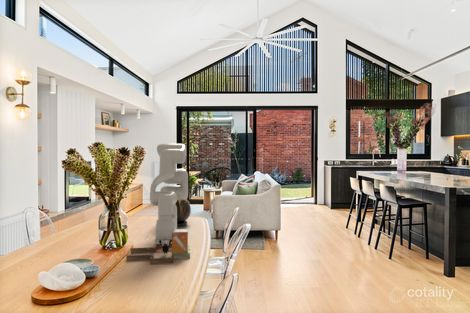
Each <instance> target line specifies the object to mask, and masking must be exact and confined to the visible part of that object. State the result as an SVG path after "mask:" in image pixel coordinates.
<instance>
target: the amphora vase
mask: <svg viewBox="0 0 470 313" xmlns="http://www.w3.org/2000/svg"><path fill="white" fill-rule="evenodd" d="M175 204H176V206H177V228H178V227H185V226H186V225H188V221H187V220H188V219H189V218H190V217H191V213H192V208H191V203H190V201H189V200H188V198H187V199H186V200H177V202H176V203H175ZM184 225H185V226H184Z"/></svg>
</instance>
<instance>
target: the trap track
mask: <svg viewBox="0 0 470 313" xmlns="http://www.w3.org/2000/svg"><path fill="white" fill-rule="evenodd" d="M166 244H167V242H165V245H166ZM170 252H171V257H154V253H164V252H163V246H162V245H161V244H160V243H155V244H154V246H152V247H151V246H149V247H147V246H146V247H130V254H129V255H128V254H127V255H126V257H125V258H126V259H125V261H126V262H130V261H131V262H133V261H149V265H161V264H163V265H164V264H165V265H166V264H174V260H179V259H180V260H181V259H191V246H190V245H188V253H172V242H171V243H170V244H169V251H168V252H167V253H170ZM147 253H148V254H147Z"/></svg>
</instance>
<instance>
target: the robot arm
mask: <svg viewBox="0 0 470 313" xmlns="http://www.w3.org/2000/svg"><path fill="white" fill-rule="evenodd" d="M156 153H157V155H158V157H159V173H158V175H157V176H155V178H154V179H153V181H152V183H151V184H150V187H149V188H150V191H149V203H150V204H151V205H152V206H157V219H156V223H155V232H154V236H155V239H154V242H155V243H158V244H161V245H162V246H163V252H162V253H163V254H164V255H167V254H168V253H169V252H168V251H169V244H170V243H172V231H175V230H176V229H178V227H177V206H176V204H175V203H176V202H177V200H186V199H187V200H188V198H189V173H188V171H187V170H186V169H184V168H177V164H180V165H181V164H185V162H186V160H187V147H186V145H185V144H183V143H159V144H158V145H157V146H156ZM162 183H164V184H167V185H163V186H162V187H161V188H160V191H157V190H156V189H157V187H158V186H159V185H160V184H162ZM175 184H176V185H175ZM165 241H166V242H165ZM165 243H167V244H166V245H165Z"/></svg>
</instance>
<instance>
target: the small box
mask: <svg viewBox="0 0 470 313" xmlns="http://www.w3.org/2000/svg"><path fill="white" fill-rule="evenodd" d="M171 243H172V251H171V254H172V253H188V246H189V229H188V228H180V229H179V228H177V229H176V230H175V231H172V242H171Z"/></svg>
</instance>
